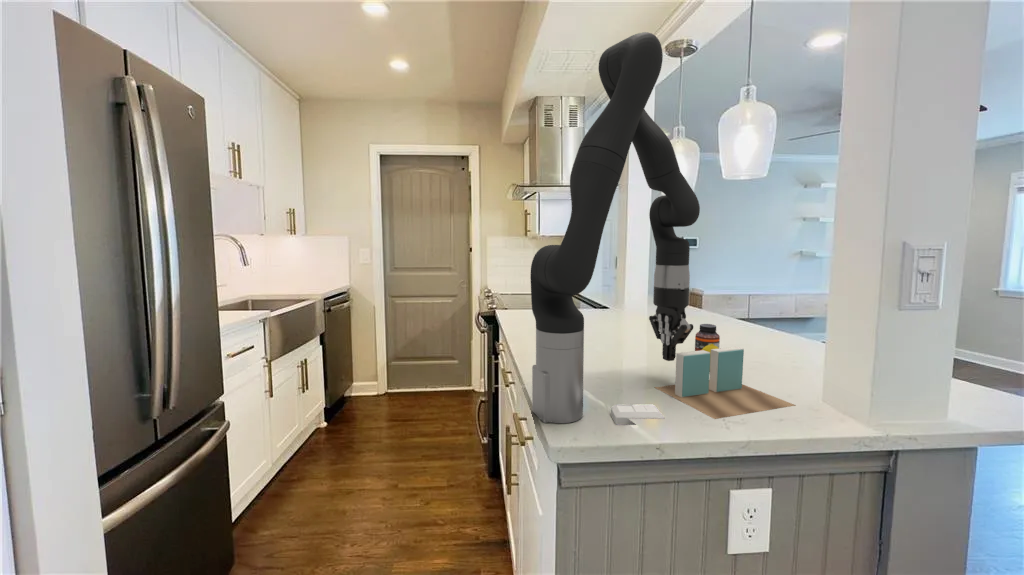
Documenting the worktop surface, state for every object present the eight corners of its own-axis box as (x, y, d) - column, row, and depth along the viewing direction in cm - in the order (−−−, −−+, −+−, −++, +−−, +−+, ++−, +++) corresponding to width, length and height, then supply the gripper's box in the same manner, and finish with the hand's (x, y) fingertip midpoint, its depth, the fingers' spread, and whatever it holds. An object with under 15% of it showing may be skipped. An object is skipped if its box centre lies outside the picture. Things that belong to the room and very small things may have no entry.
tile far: (716, 392, 94) (718, 351, 93) (709, 389, 97) (710, 349, 95) (742, 388, 97) (744, 349, 96) (734, 385, 99) (736, 346, 98)
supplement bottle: (689, 364, 119) (690, 323, 118) (707, 362, 121) (708, 322, 120) (704, 371, 113) (706, 328, 112) (723, 368, 115) (725, 326, 114)
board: (714, 425, 81) (714, 418, 81) (654, 392, 98) (654, 387, 98) (795, 411, 87) (795, 405, 87) (725, 382, 104) (725, 377, 104)
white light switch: (664, 426, 82) (664, 413, 81) (615, 426, 82) (616, 413, 81) (656, 416, 86) (656, 403, 86) (610, 415, 87) (610, 403, 86)
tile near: (682, 397, 92) (683, 355, 91) (674, 394, 94) (676, 353, 93) (709, 393, 94) (711, 352, 93) (701, 390, 96) (703, 350, 95)
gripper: (639, 282, 104) (637, 354, 106) (677, 289, 91) (674, 369, 93) (666, 281, 106) (664, 351, 108) (706, 287, 94) (702, 366, 96)
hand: (668, 359), depth 101 cm, fingers closed
